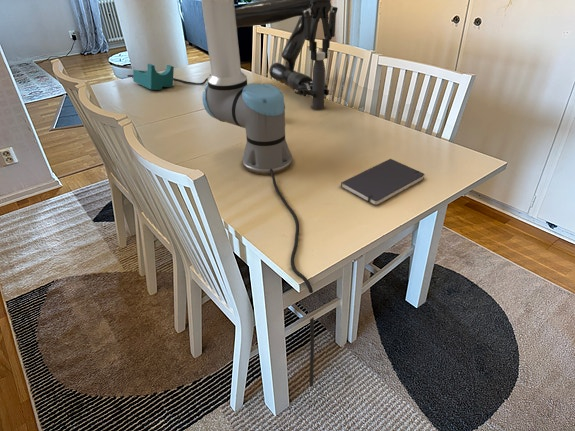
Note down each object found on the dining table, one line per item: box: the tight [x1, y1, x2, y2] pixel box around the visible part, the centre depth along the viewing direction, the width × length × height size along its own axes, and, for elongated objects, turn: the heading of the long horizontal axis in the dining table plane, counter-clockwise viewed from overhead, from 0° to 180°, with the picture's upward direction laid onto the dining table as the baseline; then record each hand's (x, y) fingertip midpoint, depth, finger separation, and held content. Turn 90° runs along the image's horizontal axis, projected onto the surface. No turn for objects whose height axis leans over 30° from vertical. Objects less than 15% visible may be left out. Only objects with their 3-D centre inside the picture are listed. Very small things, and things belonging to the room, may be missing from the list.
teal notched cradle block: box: [132, 63, 175, 91], centre depth 189 cm, size 18×11×10 cm, turn 43°
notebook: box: [340, 158, 425, 206], centre depth 114 cm, size 13×2×21 cm
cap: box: [316, 51, 326, 61], centre depth 151 cm, size 4×4×2 cm
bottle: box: [311, 60, 326, 111], centre depth 157 cm, size 5×5×21 cm
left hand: (322, 94), depth 158 cm, fingers closed on bottle, 4 cm apart
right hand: (319, 58), depth 152 cm, fingers closed on cap, 4 cm apart
